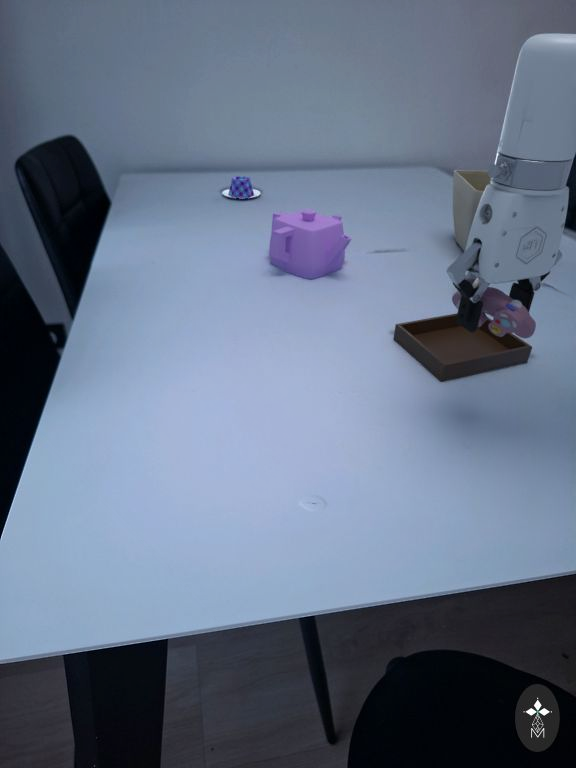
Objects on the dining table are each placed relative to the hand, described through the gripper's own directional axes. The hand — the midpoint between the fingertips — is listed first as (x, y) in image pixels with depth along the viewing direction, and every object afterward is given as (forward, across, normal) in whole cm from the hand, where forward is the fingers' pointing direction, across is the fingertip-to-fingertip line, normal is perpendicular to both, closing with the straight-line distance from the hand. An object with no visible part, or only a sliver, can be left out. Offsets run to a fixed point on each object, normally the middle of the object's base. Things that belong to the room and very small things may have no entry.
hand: (491, 320), depth 66 cm
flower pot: (+16, +49, +53) cm, 74 cm away
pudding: (+15, +7, +119) cm, 120 cm away
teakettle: (+15, +3, +59) cm, 61 cm away
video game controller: (+1, 0, 0) cm, 1 cm away
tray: (+15, +11, +16) cm, 25 cm away
